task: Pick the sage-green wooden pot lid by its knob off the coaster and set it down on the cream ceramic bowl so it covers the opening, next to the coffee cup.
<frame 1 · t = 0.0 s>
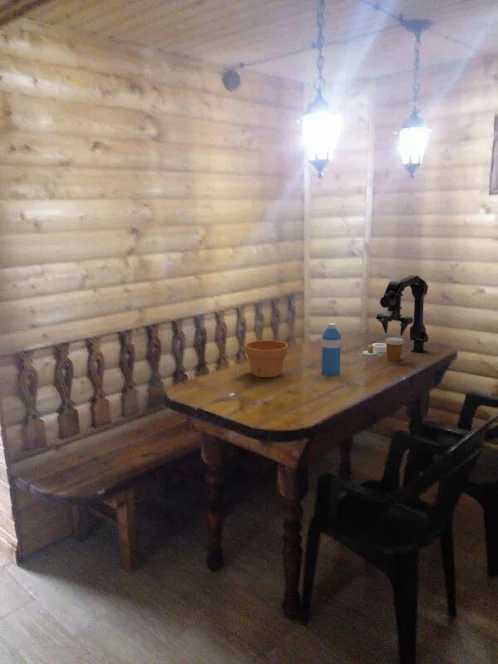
hand: (393, 334, 294), 15 cm above the table, fingers open, 9 cm apart
coaster: (370, 355, 308), on the table
lid: (370, 354, 308), point 1 cm above the table, touching coaster
flower pot: (266, 373, 278), on the table
bowl: (380, 351, 316), on the table
water bottle: (330, 373, 277), on the table
disposable coffee cup: (393, 361, 298), on the table
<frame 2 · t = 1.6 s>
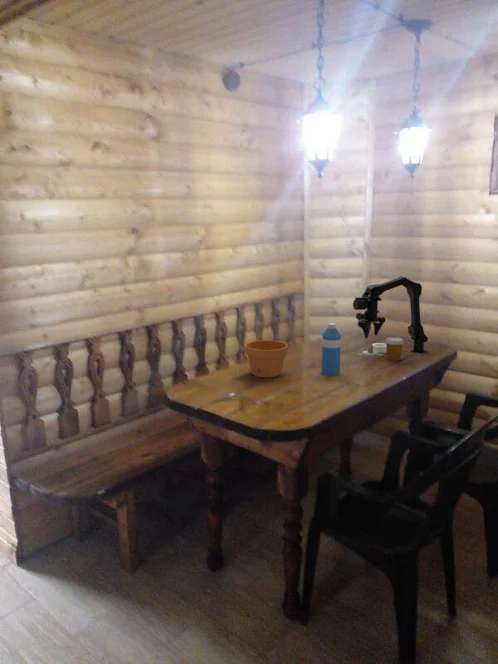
hand: (371, 336, 306), 11 cm above the table, fingers open, 9 cm apart
nothing on the table moved.
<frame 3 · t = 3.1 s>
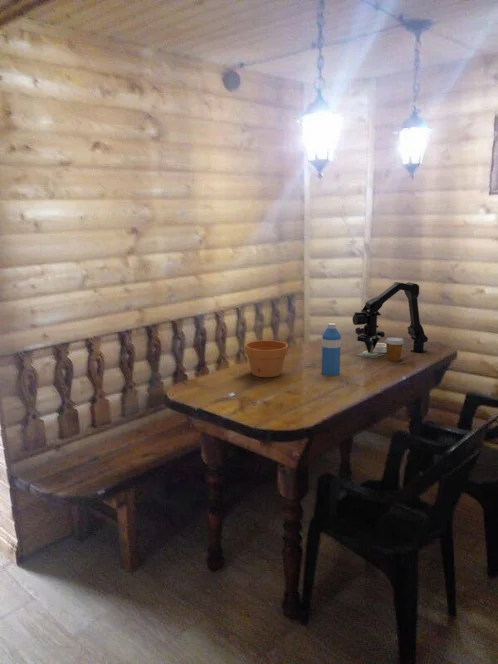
hand: (370, 351, 307), 3 cm above the table, fingers closed on lid, 3 cm apart
lid: (370, 354, 308), point 1 cm above the table, touching coaster, gripper
everything else where it was.
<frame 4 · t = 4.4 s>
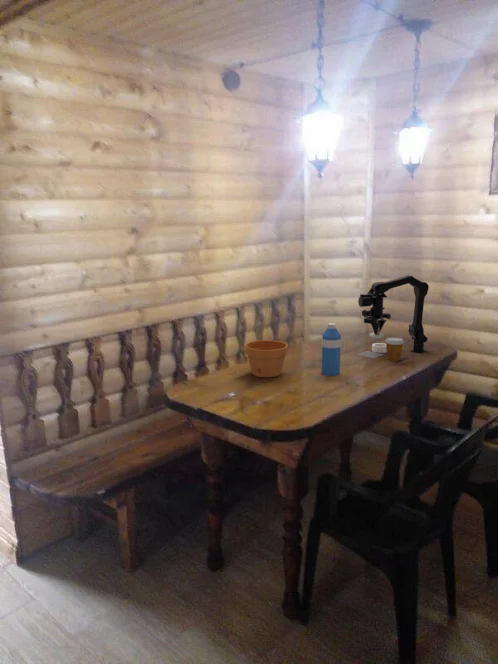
hand: (377, 333, 309), 12 cm above the table, fingers closed on lid, 3 cm apart
lid: (376, 336, 310), point 10 cm above the table, touching gripper
everything else where it was.
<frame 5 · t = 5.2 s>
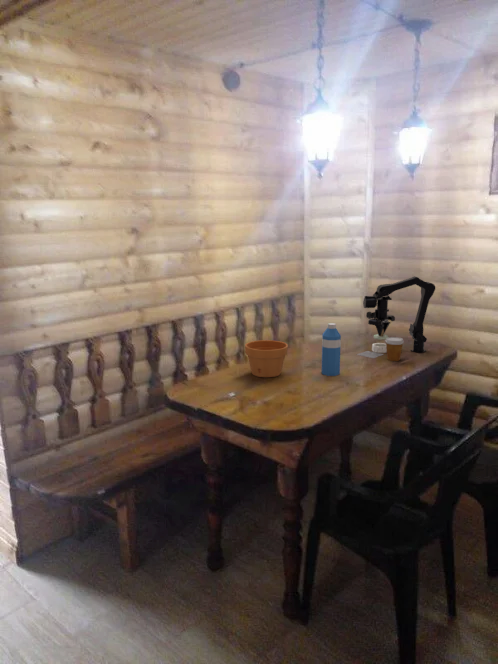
hand: (381, 335, 314), 10 cm above the table, fingers closed on lid, 3 cm apart
lid: (380, 337, 314), point 8 cm above the table, touching gripper
everything else where it was.
when the fingers open (7 cm above the table, at t = 5.9 s): lid drops 1 cm, resting on bowl.
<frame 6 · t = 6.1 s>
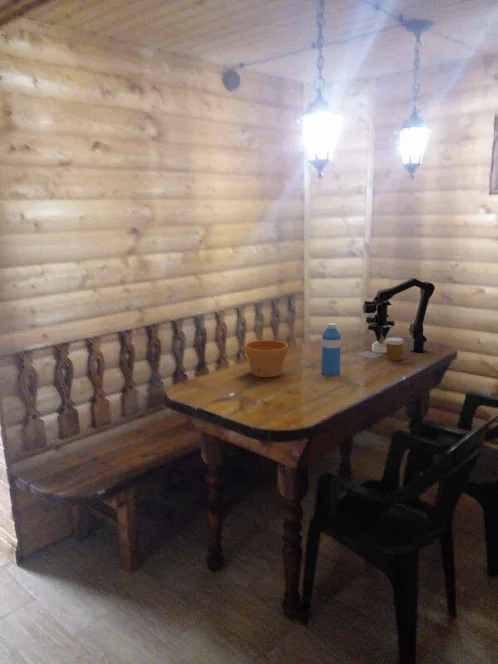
hand: (380, 340, 314), 7 cm above the table, fingers open, 5 cm apart
lid: (380, 345, 315), point 4 cm above the table, touching bowl
everything else where it was.
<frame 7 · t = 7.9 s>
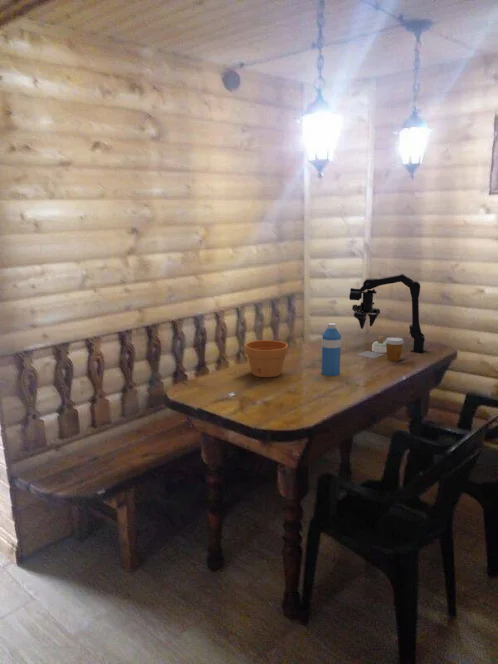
hand: (366, 327, 322), 12 cm above the table, fingers open, 9 cm apart
nothing on the table moved.
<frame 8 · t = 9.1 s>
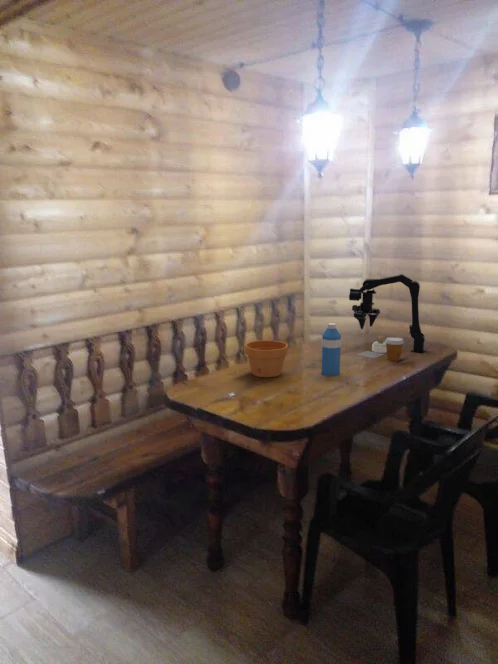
hand: (366, 327, 322), 12 cm above the table, fingers open, 9 cm apart
nothing on the table moved.
at the end: lid 0.0 cm off-centre on the bowl, point 4.0 cm above the bowl's base; lid tilted 0°; the gripper is holding nothing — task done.
